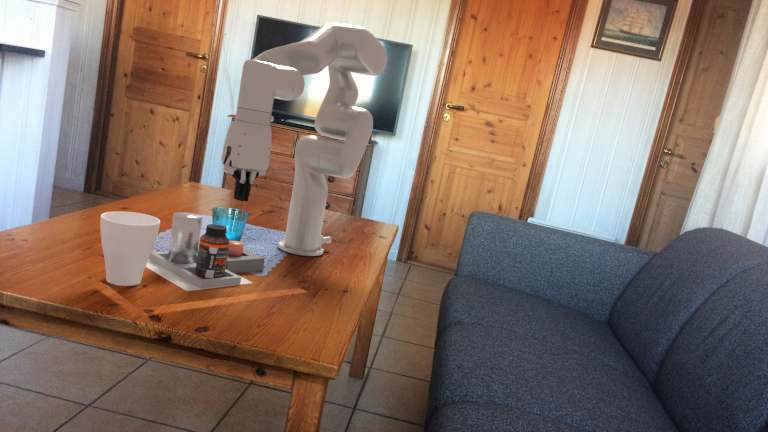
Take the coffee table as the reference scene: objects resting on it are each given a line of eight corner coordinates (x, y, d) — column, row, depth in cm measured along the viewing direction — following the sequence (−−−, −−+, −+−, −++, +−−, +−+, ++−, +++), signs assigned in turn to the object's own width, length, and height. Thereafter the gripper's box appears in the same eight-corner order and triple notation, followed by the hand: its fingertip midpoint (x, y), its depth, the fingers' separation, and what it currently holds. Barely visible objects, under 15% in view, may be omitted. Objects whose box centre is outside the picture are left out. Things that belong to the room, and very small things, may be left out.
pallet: (200, 260, 144) (201, 249, 143) (252, 288, 131) (254, 276, 131) (134, 265, 132) (136, 253, 131) (185, 296, 119) (187, 283, 119)
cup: (115, 299, 112) (123, 227, 109) (81, 281, 117) (88, 212, 114) (163, 290, 120) (172, 223, 118) (129, 274, 126) (137, 210, 123)
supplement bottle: (215, 285, 125) (223, 231, 123) (188, 278, 126) (196, 225, 124) (228, 278, 131) (236, 227, 129) (202, 272, 132) (210, 221, 130)
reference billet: (186, 259, 139) (192, 212, 137) (201, 267, 135) (208, 218, 133) (161, 261, 134) (168, 212, 132) (176, 269, 130) (183, 219, 128)
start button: (235, 252, 143) (237, 240, 143) (245, 257, 141) (247, 245, 140) (220, 253, 140) (222, 241, 140) (231, 258, 138) (233, 245, 137)
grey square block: (236, 261, 148) (238, 245, 147) (262, 274, 142) (264, 258, 141) (199, 265, 140) (202, 248, 140) (225, 278, 134) (228, 261, 134)
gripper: (269, 119, 143) (257, 196, 146) (214, 111, 132) (202, 195, 135) (290, 124, 139) (277, 204, 141) (235, 116, 127) (222, 203, 130)
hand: (240, 199), depth 138 cm, fingers closed
